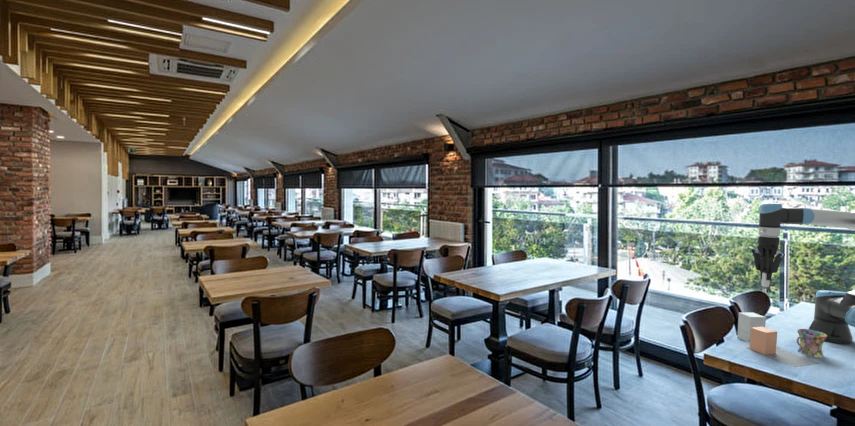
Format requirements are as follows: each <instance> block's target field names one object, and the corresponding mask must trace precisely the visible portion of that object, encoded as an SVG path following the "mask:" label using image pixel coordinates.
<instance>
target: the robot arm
mask: <svg viewBox="0 0 855 426" xmlns="http://www.w3.org/2000/svg"><path fill="white" fill-rule="evenodd" d="M758 213H759V220H758V237H757V247H756V248H754V249H753V248H751V249H750V250H751V252H752V255H753V258H754V265H755V270H757V271H759V273H760V279H761V287H763V288H769V287H770V281H772V276H773V274H777V273H778V271H779V267H780V265H781V262H782V259H783V258H784V257H785V254H786V253H784V252H782V251H780V248H779V246H780V236H781V226H782V225H801V226H802V225H809V226H810V225H811V226H820V227H833V228H842V229H843V228H844V229H845V228H846V229H848V230H849V231H854V232H855V209H854V210H851V211H841V210H829V209H815V208H809V207H792V206H791V207H790V206H783V205H782V203H777V202H763V203H761V204H760V208H759V212H758ZM814 298H815V300H814V301H815V303H814V314H813V315H814V317H813V321H812V322H811V324H810V325H809V327H808V329H809V330H814V331H818V332H822V333H824V334H826V335H827V338H826V339H825V340H824V342H825V341H826V342H830V343H835V344H843V345H845V344H852V343H853V339H854V338H853V334H852V332H851V329H850V326H851V327H853V328H855V286H854V287H853V289H852V290H851V291H839V290H828V289H827V290H825V289H820V290H817V291H816V293H815V297H814Z"/></svg>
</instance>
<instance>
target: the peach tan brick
mask: <svg viewBox="0 0 855 426" xmlns="http://www.w3.org/2000/svg"><path fill="white" fill-rule="evenodd" d="M777 341H778V331H776V330H773V329H771V328H768V327H766V326H765V327H753V328H751V338H750V341H749V347H750V349H751V350H750V349H749V350H750V351H753V350H754V351H753V352H755V351H756V353H758V352H759V353H758V354H760V353H761V354H760V355H763V354H764V356H765V355H768V354H775V353H776V347H777Z"/></svg>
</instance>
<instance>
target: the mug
mask: <svg viewBox="0 0 855 426" xmlns="http://www.w3.org/2000/svg"><path fill="white" fill-rule="evenodd" d="M796 332H797V333H798V336H797V338H796V343H797V345H798V349H797V352H798V353H799V354H801V355H805V356H807V357H812V358H824V354H823V344H824V342H825V339H826V338H827V335H826V334H824V333H822V332H818V331H814V330H809V328H808V329H807V328H798V329H796Z"/></svg>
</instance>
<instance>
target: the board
mask: <svg viewBox="0 0 855 426" xmlns="http://www.w3.org/2000/svg"><path fill="white" fill-rule="evenodd" d="M746 349H748V350H750V351H752V352H756V351H754V350H751V349H750V346H749V347H746ZM756 353H758V354H760V355H764V354H761V353H759V352H756ZM764 356H765V357H768V358H771V359H773V360H776V361H778V362H781V363H784V364H786V365H789V366H791V367H794V368H798V367H805V366H812V365H813V366H814V365H819V364H821V362H818V361H816V360H814V359H813V360H812V359H810V358H807V357H805V356H802V355H799V354H796V353H792V351H791V352H790V351H787V350H785V349H782V348H780V347H777V346H776V353H775V354H768V355H764Z"/></svg>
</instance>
